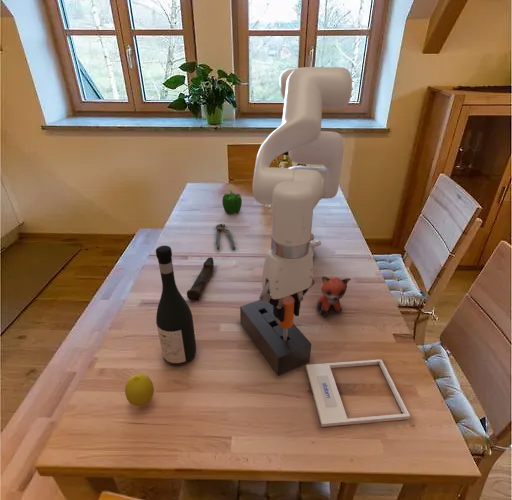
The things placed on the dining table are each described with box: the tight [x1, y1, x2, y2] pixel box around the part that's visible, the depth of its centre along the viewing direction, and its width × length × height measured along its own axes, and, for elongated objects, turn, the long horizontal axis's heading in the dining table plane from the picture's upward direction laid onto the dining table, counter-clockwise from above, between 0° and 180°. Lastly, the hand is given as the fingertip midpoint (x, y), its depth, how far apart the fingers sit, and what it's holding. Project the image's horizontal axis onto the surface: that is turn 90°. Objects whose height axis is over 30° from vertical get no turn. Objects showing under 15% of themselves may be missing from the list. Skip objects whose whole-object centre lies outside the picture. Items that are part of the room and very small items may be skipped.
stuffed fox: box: [316, 275, 351, 318], centre depth 98 cm, size 8×11×12 cm
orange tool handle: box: [279, 295, 295, 342], centre depth 81 cm, size 3×3×16 cm
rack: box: [239, 299, 312, 377], centre depth 88 cm, size 9×19×6 cm, turn 28°
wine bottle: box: [155, 245, 197, 366], centre depth 78 cm, size 8×8×30 cm
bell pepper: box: [221, 188, 243, 216], centre depth 152 cm, size 8×8×10 cm
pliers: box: [215, 223, 236, 251], centre depth 135 cm, size 20×6×1 cm, turn 9°
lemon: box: [124, 373, 155, 407], centre depth 73 cm, size 6×6×8 cm
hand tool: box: [186, 256, 215, 302], centre depth 109 cm, size 19×4×5 cm, turn 166°
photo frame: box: [305, 358, 411, 428], centre depth 76 cm, size 15×1×18 cm
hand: (286, 314), depth 79 cm, fingers closed on orange tool handle, 3 cm apart
